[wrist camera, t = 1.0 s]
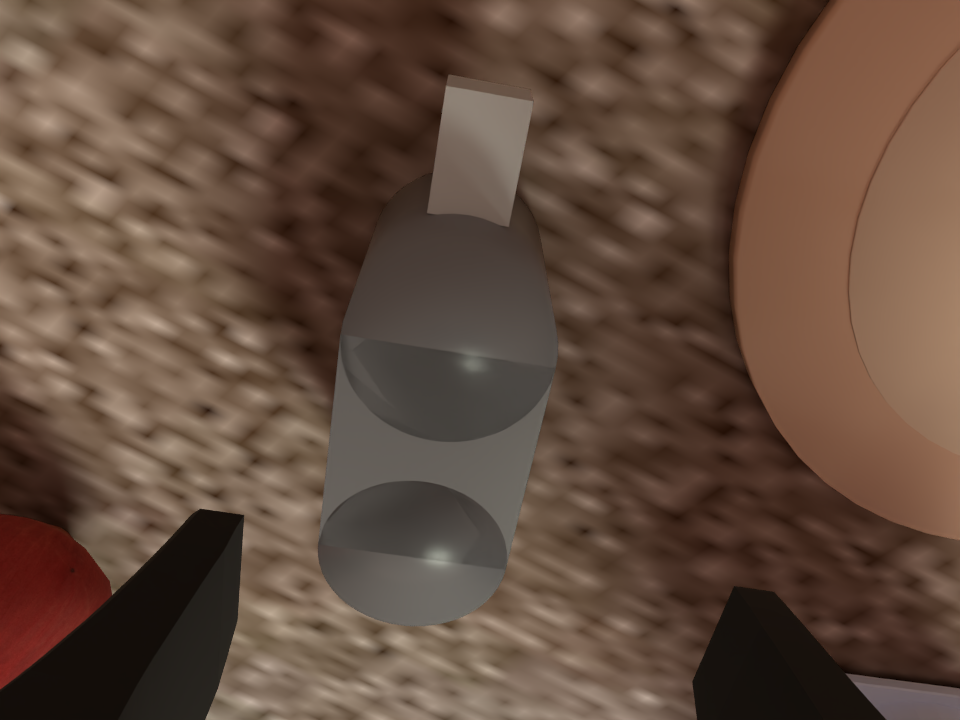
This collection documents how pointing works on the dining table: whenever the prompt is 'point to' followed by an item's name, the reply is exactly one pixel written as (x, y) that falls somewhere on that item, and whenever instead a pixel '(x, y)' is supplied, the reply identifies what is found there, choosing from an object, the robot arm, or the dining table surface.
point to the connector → (441, 377)
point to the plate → (860, 257)
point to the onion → (42, 590)
